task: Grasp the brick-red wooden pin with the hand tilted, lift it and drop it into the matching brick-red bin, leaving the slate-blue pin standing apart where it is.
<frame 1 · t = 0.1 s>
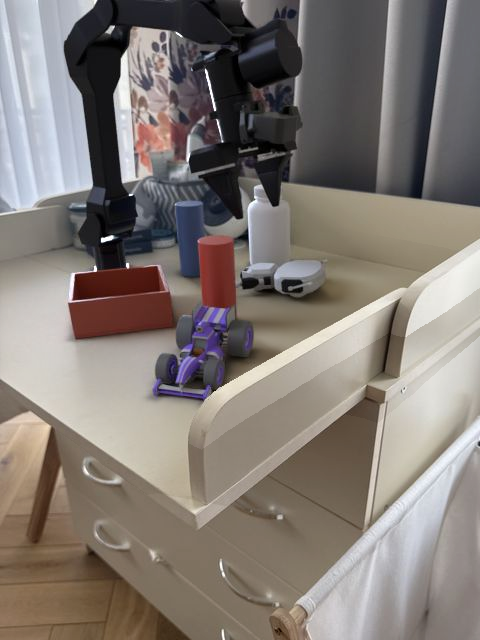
hand: (258, 212, 79), 15 cm above the table, tool pointing down, fingers open, 9 cm apart
pill bottle: (269, 265, 107), on the table
blue pin: (194, 272, 103), on the table
red pin: (220, 324, 82), on the table
toy race car: (202, 370, 70), on the table
red bin: (123, 315, 85), on the table
robot toy: (281, 291, 94), on the table
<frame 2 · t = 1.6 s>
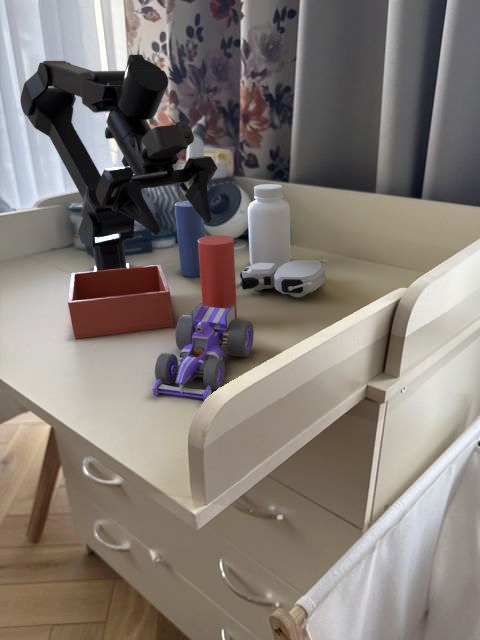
hand: (184, 227, 81), 13 cm above the table, tool tilted 45°, fingers open, 9 cm apart
nothing on the table moved.
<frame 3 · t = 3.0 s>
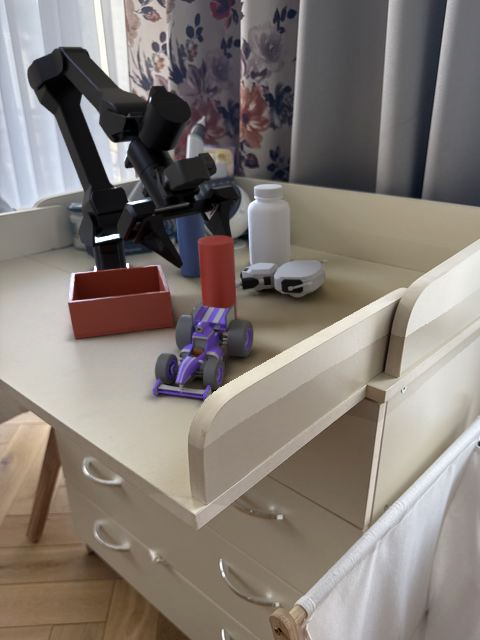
hand: (207, 259, 79), 10 cm above the table, tool tilted 45°, fingers open, 9 cm apart
nothing on the table moved.
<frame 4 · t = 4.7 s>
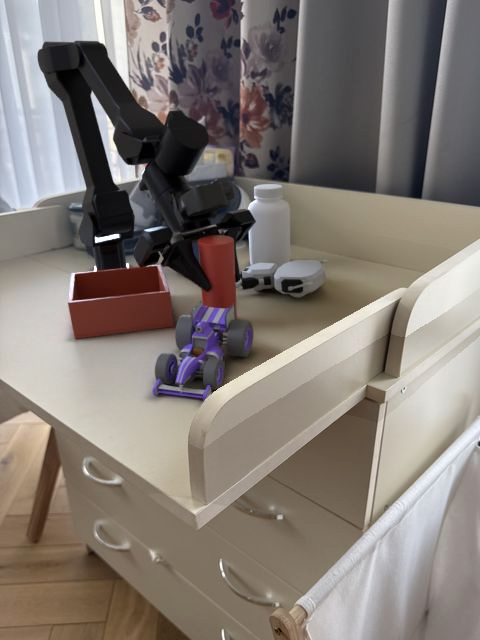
hand: (224, 285, 78), 7 cm above the table, tool tilted 45°, fingers closed on red pin, 5 cm apart
red pin: (220, 324, 82), on the table, touching gripper
everything else where it was.
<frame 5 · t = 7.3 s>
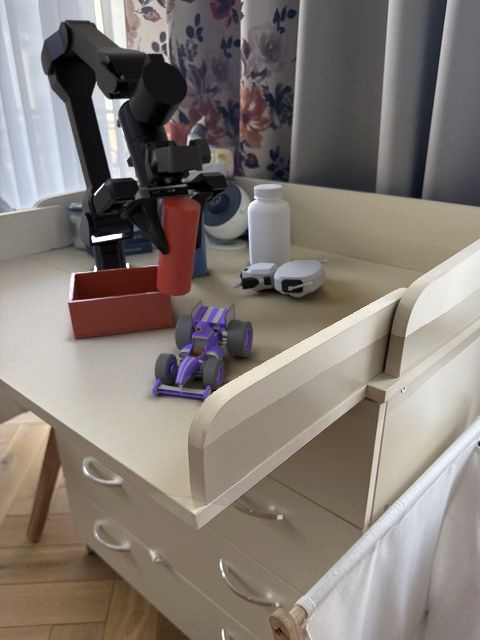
hand: (182, 251, 75), 12 cm above the table, tool tilted 30°, fingers closed on red pin, 5 cm apart
red pin: (173, 287, 80), point 6 cm above the table, tilted 14°, touching gripper, red bin
everything else where it was.
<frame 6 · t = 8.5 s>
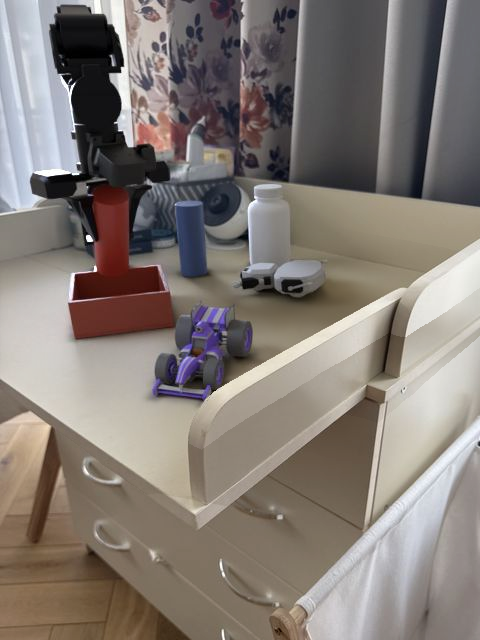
hand: (112, 237, 80), 12 cm above the table, tool pointing down, fingers closed on red pin, 5 cm apart
red pin: (112, 266, 84), point 7 cm above the table, tilted 24°, touching gripper
everything else where it was.
when the fingers open (8 cm above the table, at t = 10.1 s): red pin moves 1 cm and tips over, resting on red bin.
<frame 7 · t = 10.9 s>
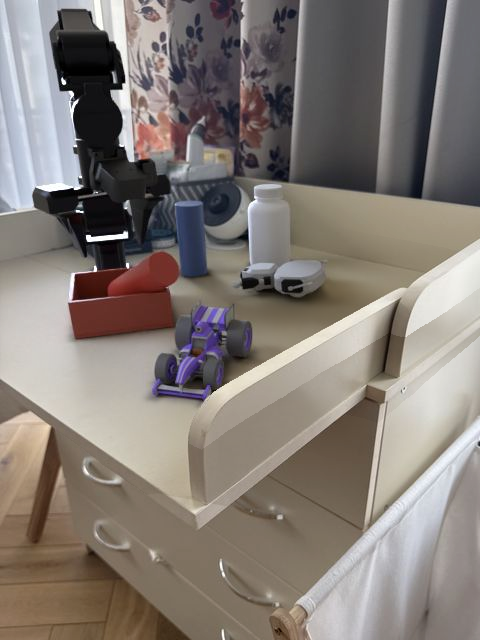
hand: (113, 250, 81), 11 cm above the table, tool pointing down, fingers open, 9 cm apart
red pin: (122, 293, 86), point 3 cm above the table, tilted 60°, touching red bin
everything else where it was.
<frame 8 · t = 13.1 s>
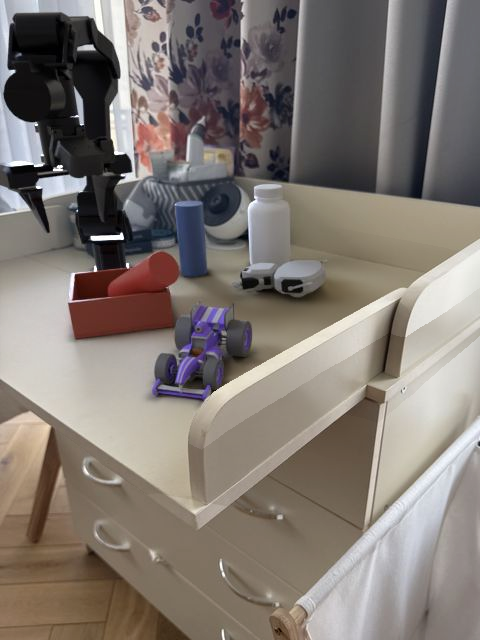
hand: (76, 227, 83), 13 cm above the table, tool pointing down, fingers open, 9 cm apart
nothing on the table moved.
at the end: red pin inside the target area in the red bin (2.3 cm from its centre), point 2.8 cm above the red bin's base; the gripper is holding nothing; blue pin moved 0.0 cm from its start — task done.
